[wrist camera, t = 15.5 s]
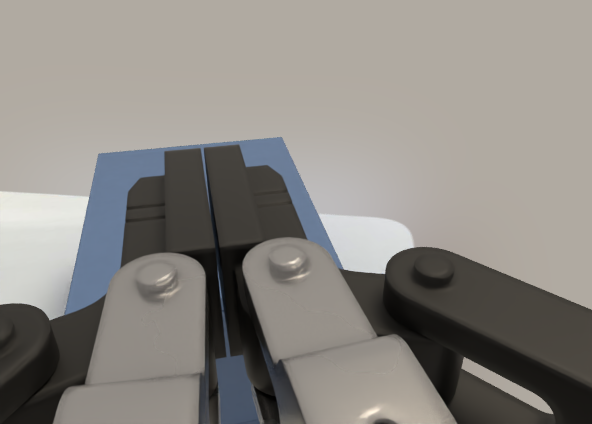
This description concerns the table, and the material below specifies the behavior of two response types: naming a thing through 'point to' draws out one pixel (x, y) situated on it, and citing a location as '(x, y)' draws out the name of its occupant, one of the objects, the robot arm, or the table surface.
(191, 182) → the robot arm
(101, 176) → the box lid
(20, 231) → the table surface
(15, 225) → the table surface
